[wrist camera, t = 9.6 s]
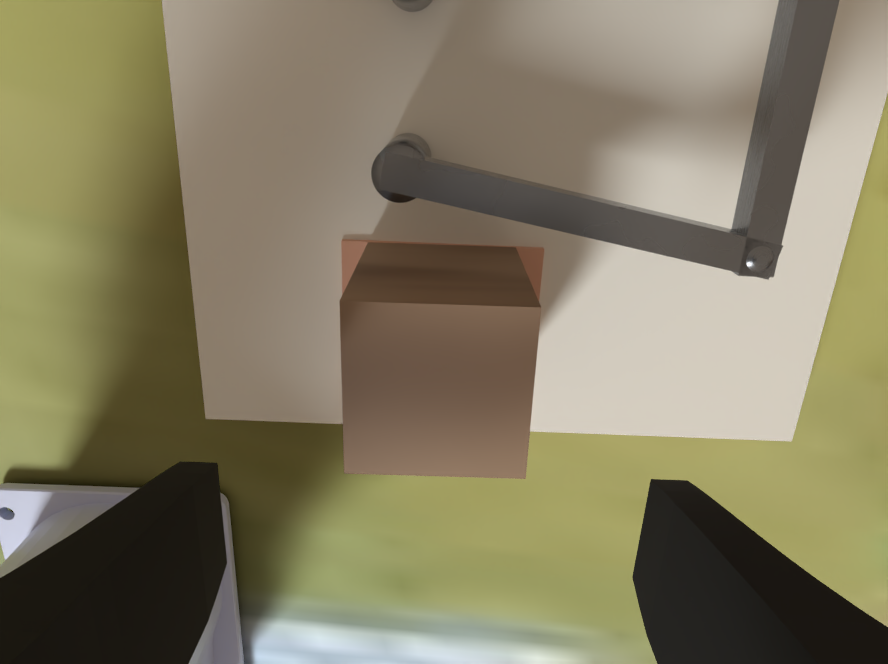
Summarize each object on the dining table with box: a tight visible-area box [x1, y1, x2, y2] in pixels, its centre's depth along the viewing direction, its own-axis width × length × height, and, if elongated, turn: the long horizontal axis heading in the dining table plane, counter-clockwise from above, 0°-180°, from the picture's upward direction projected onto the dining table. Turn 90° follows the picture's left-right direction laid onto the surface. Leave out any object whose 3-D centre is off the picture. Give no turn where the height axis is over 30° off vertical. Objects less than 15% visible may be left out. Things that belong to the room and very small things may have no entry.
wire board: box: [162, 0, 888, 441], centre depth 17 cm, size 20×18×2 cm
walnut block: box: [339, 242, 541, 479], centre depth 16 cm, size 4×4×5 cm
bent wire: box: [371, 0, 839, 280], centre depth 14 cm, size 8×9×4 cm
